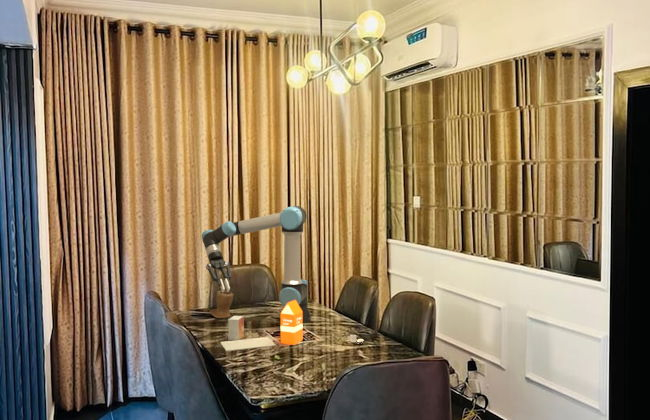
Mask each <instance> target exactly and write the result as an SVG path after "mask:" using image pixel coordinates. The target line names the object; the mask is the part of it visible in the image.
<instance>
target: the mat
mask: <svg viewBox="0 0 650 420" xmlns="http://www.w3.org/2000/svg"><path fill="white" fill-rule="evenodd" d="M219 343H220V345H221V346H222V347H223V349H224V350H225V352H232V351H239V350H240V351H241V350H243V351H244V350H250V349H260V348H267V347H269V348H271V347H276V346H277V344H276V343H275V342H274V341H273V340H272V339H271V338H270V337H269V336H264V337H256V338H255V337H254V338H245V339H240V340H227V341H226V340H225V341H220V342H219Z"/></svg>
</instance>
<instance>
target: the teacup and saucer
mask: <svg viewBox="0 0 650 420" xmlns="http://www.w3.org/2000/svg"><path fill="white" fill-rule="evenodd" d="M347 341H351V342H356V341H357V342H362V343H364V342H363V341H364V339H363V338H358V339H357V335H356V334H350V335H349V336H348V335H347ZM351 342H350V343H351ZM357 342H356V343H357Z"/></svg>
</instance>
